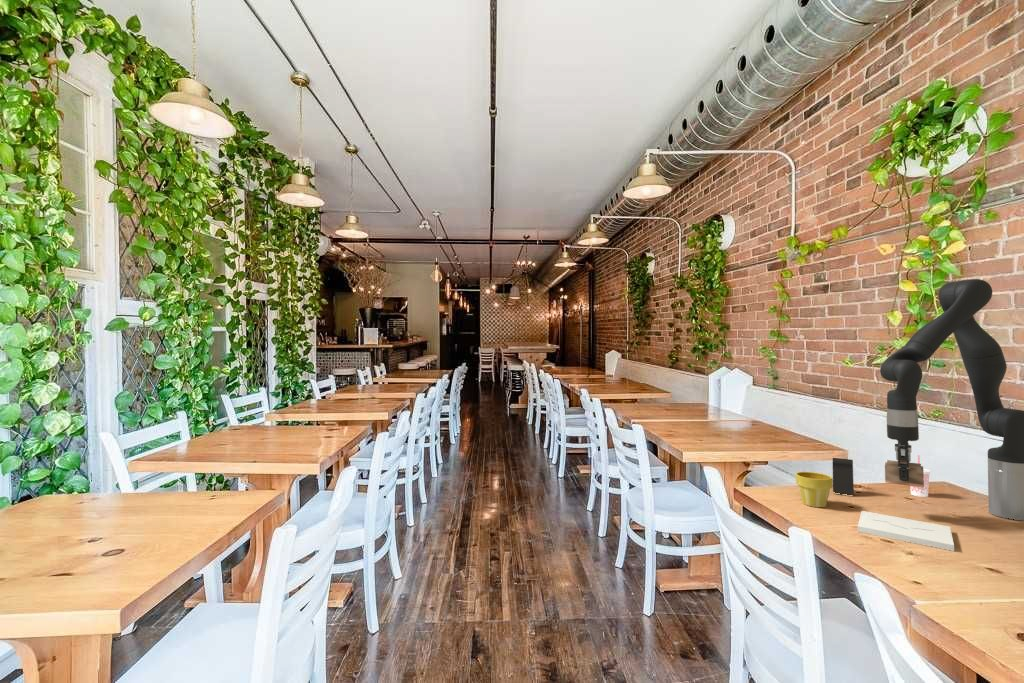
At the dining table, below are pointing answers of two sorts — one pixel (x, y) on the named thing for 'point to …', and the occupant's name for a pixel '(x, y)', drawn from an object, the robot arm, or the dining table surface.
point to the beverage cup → (924, 491)
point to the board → (906, 530)
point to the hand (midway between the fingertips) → (904, 478)
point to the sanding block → (914, 474)
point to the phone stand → (843, 476)
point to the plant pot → (814, 488)
